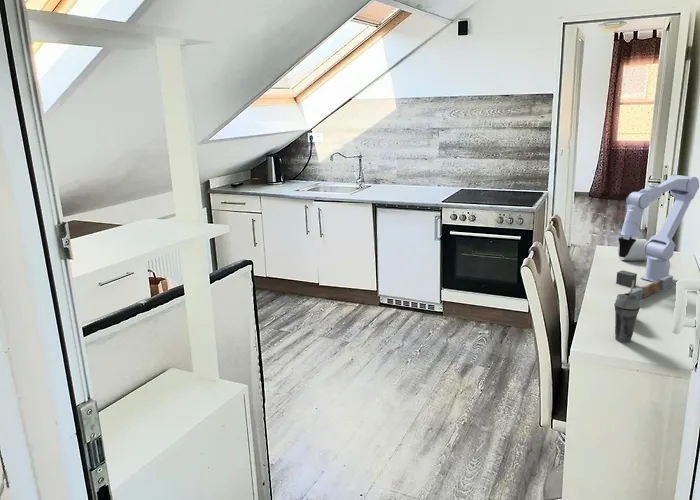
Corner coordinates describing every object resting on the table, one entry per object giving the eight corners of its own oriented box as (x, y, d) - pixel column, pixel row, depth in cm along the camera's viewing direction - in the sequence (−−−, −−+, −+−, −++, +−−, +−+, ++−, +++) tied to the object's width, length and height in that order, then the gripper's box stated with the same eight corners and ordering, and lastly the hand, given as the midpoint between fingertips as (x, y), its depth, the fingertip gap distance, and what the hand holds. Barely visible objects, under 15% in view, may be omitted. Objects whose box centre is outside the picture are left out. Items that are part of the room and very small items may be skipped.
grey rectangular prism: (621, 281, 229) (622, 270, 228) (635, 285, 225) (636, 273, 223) (615, 283, 227) (617, 272, 226) (630, 287, 222) (631, 275, 221)
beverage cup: (605, 335, 180) (612, 277, 175) (627, 334, 181) (634, 276, 175) (618, 345, 173) (625, 285, 168) (640, 344, 174) (648, 283, 168)
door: (658, 289, 218) (659, 280, 217) (660, 290, 217) (662, 280, 216) (638, 298, 210) (639, 288, 209) (640, 298, 209) (642, 288, 208)
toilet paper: (624, 263, 253) (626, 241, 250) (617, 256, 263) (619, 236, 260) (647, 263, 252) (650, 242, 249) (639, 257, 261) (642, 236, 258)
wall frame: (666, 285, 223) (668, 275, 222) (672, 286, 222) (673, 276, 220) (626, 302, 207) (628, 291, 205) (631, 304, 205) (633, 293, 204)
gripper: (622, 220, 225) (614, 252, 228) (619, 221, 213) (610, 255, 215) (641, 223, 222) (632, 256, 224) (639, 225, 209) (629, 259, 212)
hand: (622, 256), depth 219 cm, fingers open, 7 cm apart
